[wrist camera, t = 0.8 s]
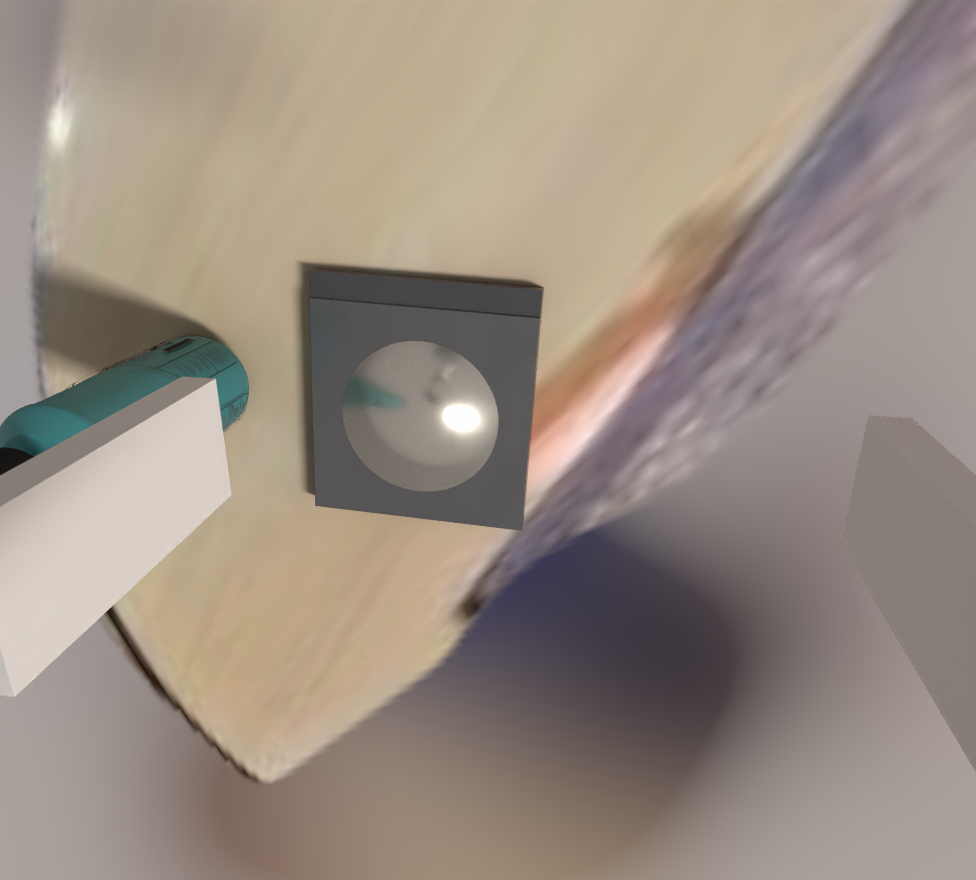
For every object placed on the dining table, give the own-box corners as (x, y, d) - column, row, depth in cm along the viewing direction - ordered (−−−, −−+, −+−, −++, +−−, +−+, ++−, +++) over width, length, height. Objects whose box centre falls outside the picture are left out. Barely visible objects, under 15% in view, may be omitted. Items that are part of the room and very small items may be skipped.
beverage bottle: (225, 309, 47) (-22, 407, 28) (283, 398, 48) (86, 546, 30) (150, 355, 48) (-127, 475, 30) (208, 439, 50) (-21, 602, 32)
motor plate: (315, 268, 45) (307, 271, 44) (543, 287, 43) (542, 290, 42) (321, 498, 50) (315, 506, 49) (523, 522, 49) (521, 530, 48)
